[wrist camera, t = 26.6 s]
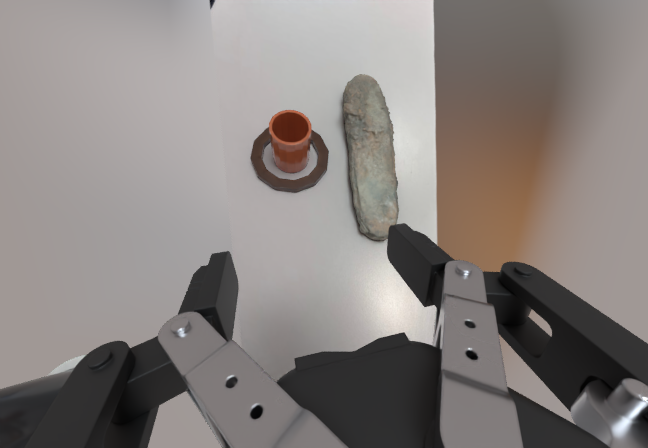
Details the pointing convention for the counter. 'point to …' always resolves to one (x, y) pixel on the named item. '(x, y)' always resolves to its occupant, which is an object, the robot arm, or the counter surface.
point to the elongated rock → (371, 156)
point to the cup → (290, 140)
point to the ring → (285, 183)
